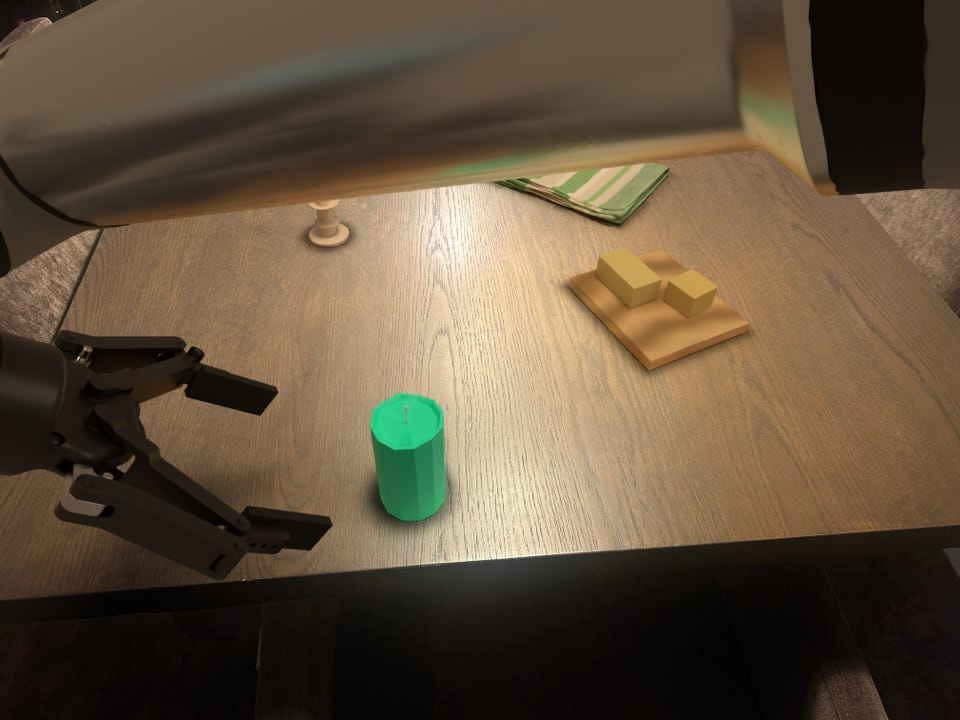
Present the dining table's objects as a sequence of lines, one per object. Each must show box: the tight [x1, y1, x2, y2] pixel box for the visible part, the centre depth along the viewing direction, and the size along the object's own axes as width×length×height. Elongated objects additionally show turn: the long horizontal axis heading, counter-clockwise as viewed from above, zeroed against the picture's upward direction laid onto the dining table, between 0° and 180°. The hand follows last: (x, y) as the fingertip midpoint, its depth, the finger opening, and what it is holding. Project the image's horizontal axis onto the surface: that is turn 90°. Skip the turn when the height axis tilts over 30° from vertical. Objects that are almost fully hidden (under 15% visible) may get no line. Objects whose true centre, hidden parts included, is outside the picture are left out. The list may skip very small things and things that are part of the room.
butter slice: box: [663, 268, 719, 318], centre depth 78 cm, size 4×4×3 cm
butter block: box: [595, 247, 662, 309], centre depth 80 cm, size 7×4×3 cm, turn 27°
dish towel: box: [495, 162, 671, 224], centre depth 101 cm, size 18×23×3 cm
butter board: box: [568, 248, 750, 371], centre depth 80 cm, size 16×14×2 cm
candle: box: [369, 392, 446, 522], centre depth 57 cm, size 6×6×12 cm
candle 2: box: [307, 199, 350, 249], centre depth 86 cm, size 5×5×10 cm
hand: (292, 462), depth 51 cm, fingers open, 13 cm apart
